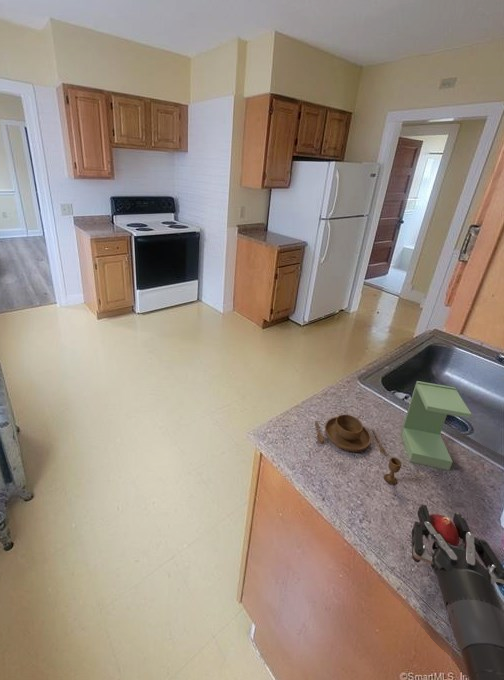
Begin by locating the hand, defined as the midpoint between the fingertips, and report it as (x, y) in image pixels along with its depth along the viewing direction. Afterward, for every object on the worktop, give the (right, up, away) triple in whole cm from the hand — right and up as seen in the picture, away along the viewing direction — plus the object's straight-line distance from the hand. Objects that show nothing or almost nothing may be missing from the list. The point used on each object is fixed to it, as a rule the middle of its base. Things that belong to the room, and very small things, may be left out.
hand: (439, 512), depth 63 cm
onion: (-1, -7, 0) cm, 7 cm away
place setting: (-8, +2, +23) cm, 24 cm away
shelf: (+11, +1, +23) cm, 26 cm away
